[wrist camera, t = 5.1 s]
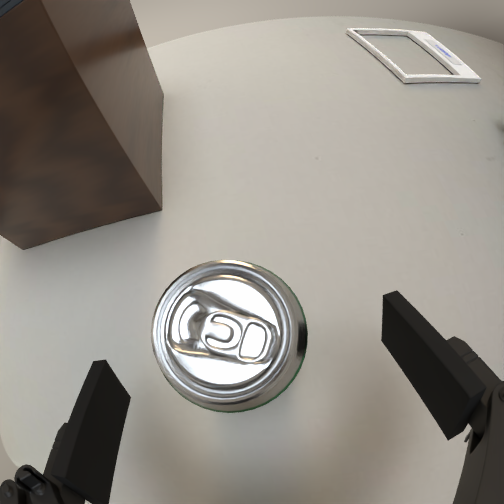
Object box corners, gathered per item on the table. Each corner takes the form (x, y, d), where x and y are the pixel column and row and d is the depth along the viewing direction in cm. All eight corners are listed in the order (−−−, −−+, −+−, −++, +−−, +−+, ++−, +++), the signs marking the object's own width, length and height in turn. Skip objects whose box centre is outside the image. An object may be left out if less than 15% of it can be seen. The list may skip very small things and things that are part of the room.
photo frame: (481, 78, 29) (406, 76, 28) (479, 82, 30) (404, 83, 29) (426, 31, 34) (346, 27, 33) (424, 35, 35) (346, 33, 34)
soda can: (229, 307, 20) (172, 231, 9) (299, 326, 20) (329, 270, 8) (207, 375, 19) (119, 380, 8) (279, 397, 18) (282, 439, 7)
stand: (23, 250, 24) (-109, 144, 6) (51, 137, 31) (-21, 33, 12) (162, 210, 24) (37, -8, 6) (163, 94, 31) (113, -49, 12)
